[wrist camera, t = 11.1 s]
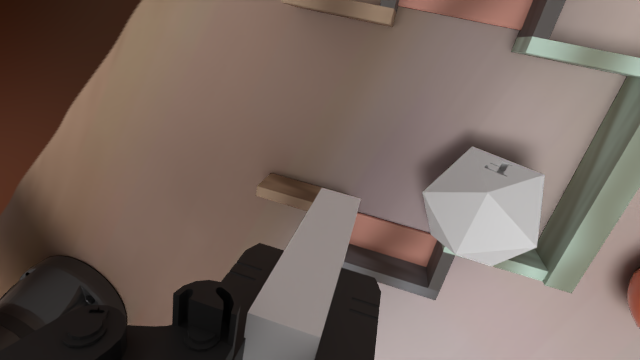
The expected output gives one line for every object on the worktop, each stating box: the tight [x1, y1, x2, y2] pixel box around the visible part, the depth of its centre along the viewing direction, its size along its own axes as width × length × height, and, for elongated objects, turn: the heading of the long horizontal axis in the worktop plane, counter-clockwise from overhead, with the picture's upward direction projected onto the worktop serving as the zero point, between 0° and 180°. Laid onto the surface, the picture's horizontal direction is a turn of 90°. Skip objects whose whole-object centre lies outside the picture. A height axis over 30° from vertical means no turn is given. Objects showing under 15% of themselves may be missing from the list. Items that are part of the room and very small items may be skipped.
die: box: [422, 146, 545, 267], centre depth 26 cm, size 8×9×10 cm
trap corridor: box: [256, 0, 640, 300], centre depth 27 cm, size 27×27×4 cm
